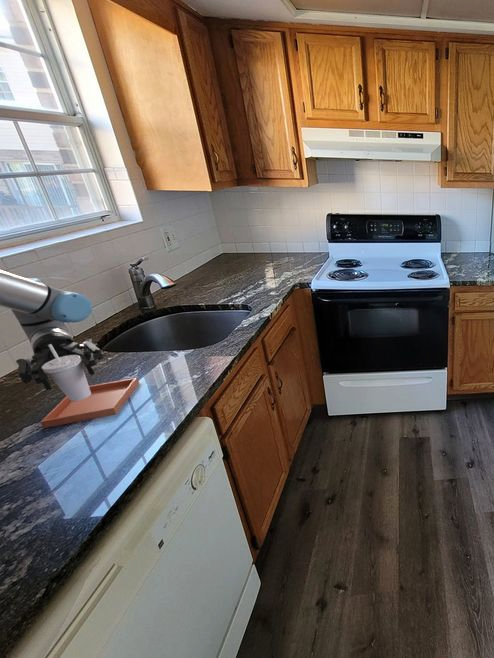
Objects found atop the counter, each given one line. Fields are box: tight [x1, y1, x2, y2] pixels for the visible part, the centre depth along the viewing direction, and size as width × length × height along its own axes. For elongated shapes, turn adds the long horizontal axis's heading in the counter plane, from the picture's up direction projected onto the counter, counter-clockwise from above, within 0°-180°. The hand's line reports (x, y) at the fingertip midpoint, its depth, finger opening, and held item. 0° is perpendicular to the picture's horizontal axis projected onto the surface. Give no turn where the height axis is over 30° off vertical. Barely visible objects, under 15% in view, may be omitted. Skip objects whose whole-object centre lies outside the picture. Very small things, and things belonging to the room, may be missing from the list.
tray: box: [40, 377, 140, 429], centre depth 100 cm, size 15×15×2 cm
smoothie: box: [42, 344, 91, 402], centre depth 83 cm, size 6×6×14 cm
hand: (68, 376), depth 80 cm, fingers closed on smoothie, 6 cm apart
